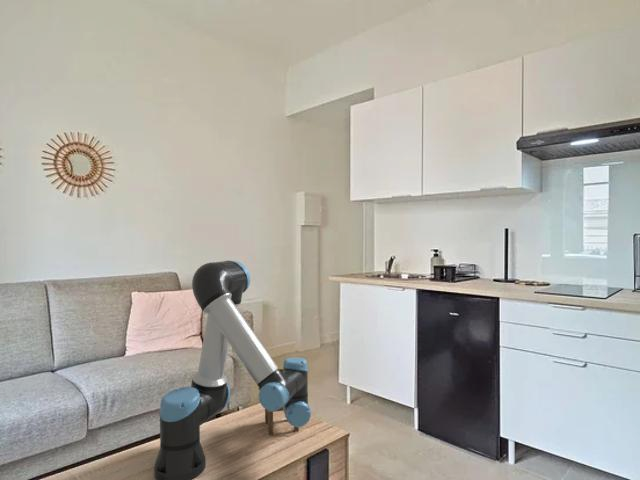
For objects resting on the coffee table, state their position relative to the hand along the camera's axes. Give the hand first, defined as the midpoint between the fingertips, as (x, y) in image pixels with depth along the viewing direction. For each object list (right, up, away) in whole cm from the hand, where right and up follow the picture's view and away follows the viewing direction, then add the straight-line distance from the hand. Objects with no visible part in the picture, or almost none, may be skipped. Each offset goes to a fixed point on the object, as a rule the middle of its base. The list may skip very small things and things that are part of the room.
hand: (279, 376), depth 158 cm
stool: (+1, -18, -4) cm, 18 cm away
